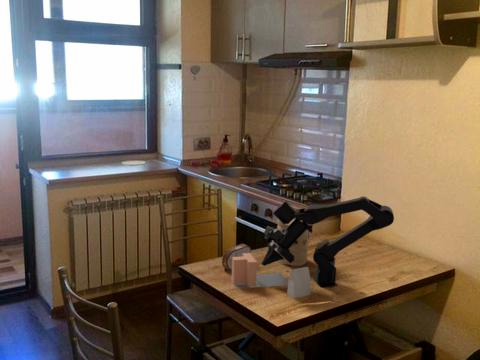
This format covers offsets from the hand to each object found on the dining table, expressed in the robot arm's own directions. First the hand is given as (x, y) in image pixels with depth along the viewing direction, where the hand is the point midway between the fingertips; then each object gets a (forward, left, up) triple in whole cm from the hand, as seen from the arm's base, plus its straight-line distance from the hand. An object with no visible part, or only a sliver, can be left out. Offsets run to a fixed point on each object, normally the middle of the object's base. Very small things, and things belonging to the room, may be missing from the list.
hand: (262, 264), depth 184 cm
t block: (+7, 0, -6) cm, 9 cm away
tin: (+5, -16, -7) cm, 19 cm away
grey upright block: (-9, +13, -7) cm, 17 cm away
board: (+1, 0, -7) cm, 7 cm away
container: (-18, -18, -7) cm, 26 cm away
